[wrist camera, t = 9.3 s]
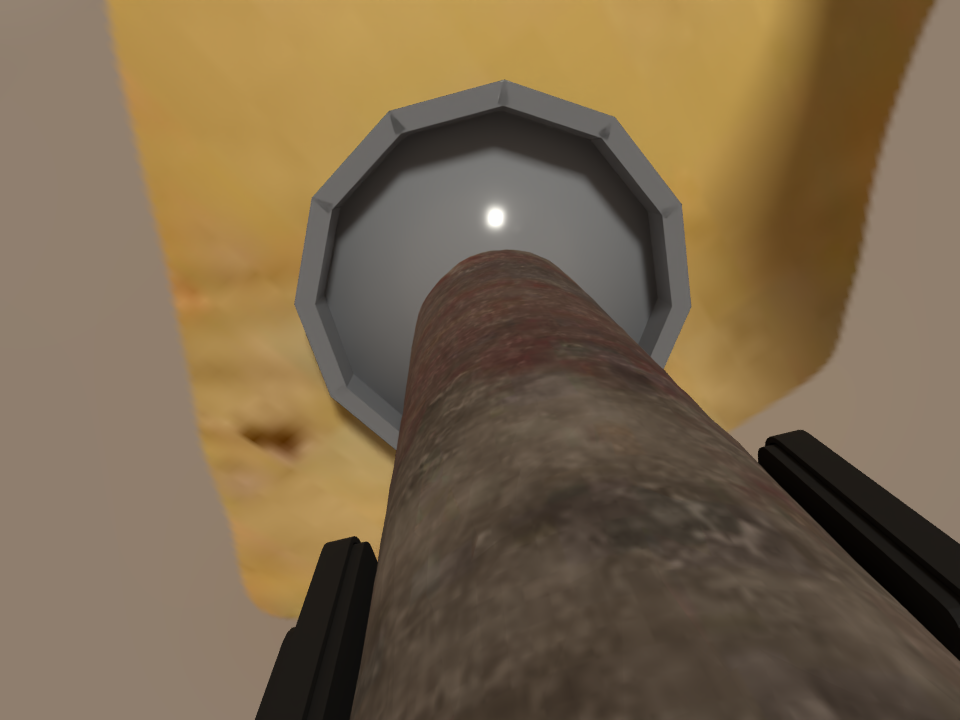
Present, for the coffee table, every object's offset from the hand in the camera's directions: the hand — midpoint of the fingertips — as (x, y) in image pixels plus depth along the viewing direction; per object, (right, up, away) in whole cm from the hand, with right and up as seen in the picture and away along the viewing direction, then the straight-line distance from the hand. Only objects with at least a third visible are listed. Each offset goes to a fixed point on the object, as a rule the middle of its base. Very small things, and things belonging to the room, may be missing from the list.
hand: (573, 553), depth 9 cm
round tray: (-1, +8, +19) cm, 21 cm away
